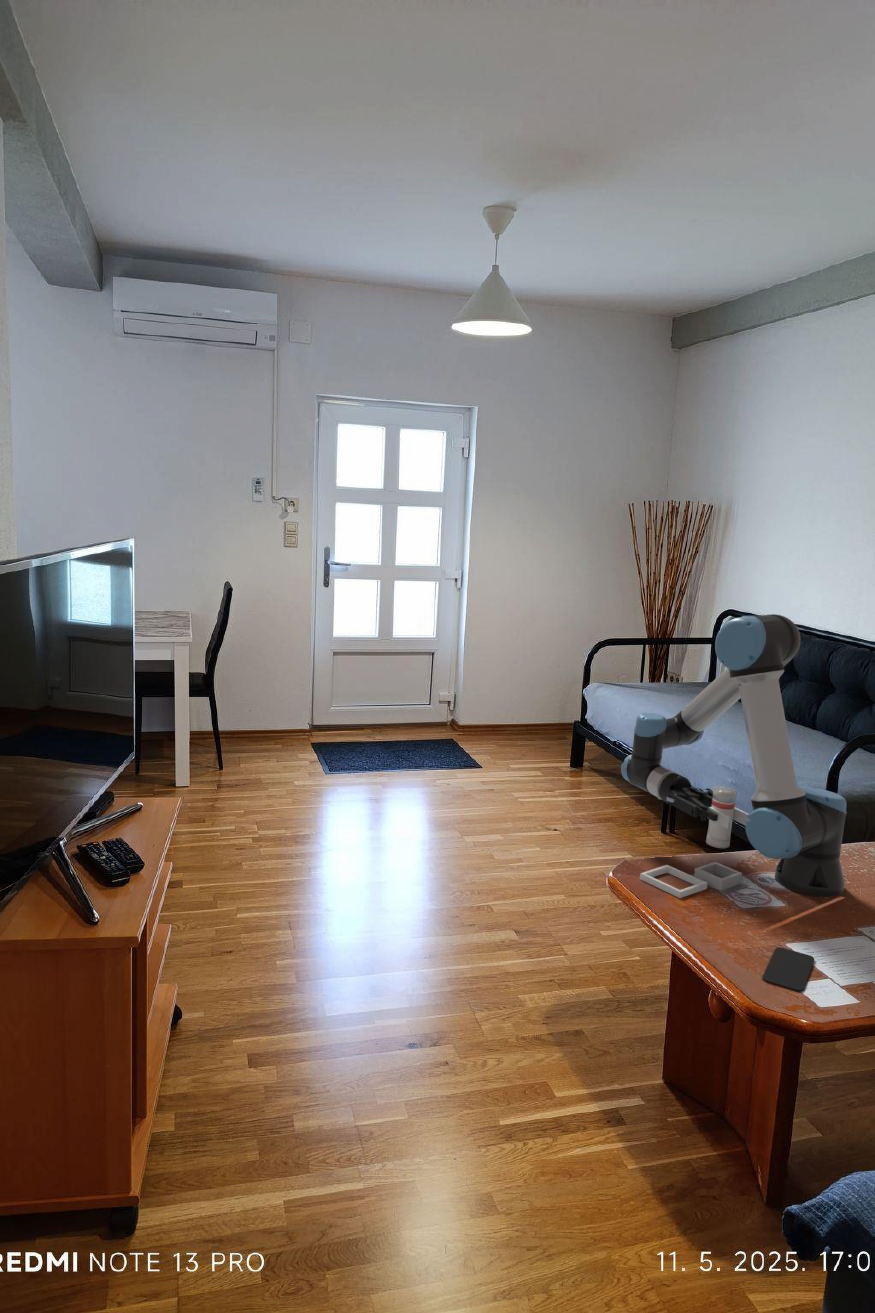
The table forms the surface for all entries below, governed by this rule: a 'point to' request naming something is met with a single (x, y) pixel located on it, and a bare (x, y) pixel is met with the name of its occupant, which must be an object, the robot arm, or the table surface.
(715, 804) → the cylinder
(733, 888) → the box
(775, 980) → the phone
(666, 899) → the table surface
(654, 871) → the grey rectangular frame
